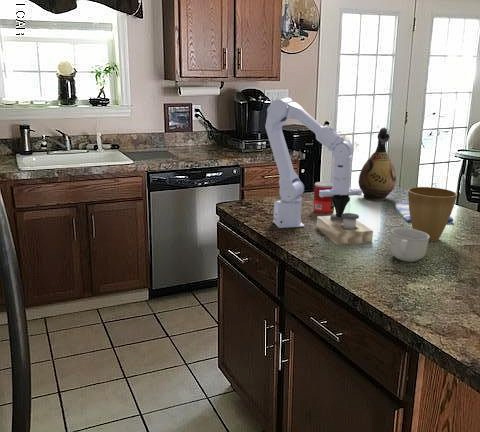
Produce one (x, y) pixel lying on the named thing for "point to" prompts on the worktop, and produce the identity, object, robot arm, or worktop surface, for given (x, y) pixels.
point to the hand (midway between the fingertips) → (339, 216)
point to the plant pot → (430, 209)
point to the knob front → (349, 221)
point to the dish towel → (404, 211)
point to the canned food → (323, 199)
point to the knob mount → (344, 231)
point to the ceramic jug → (378, 172)
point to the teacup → (408, 244)
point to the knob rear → (336, 218)
